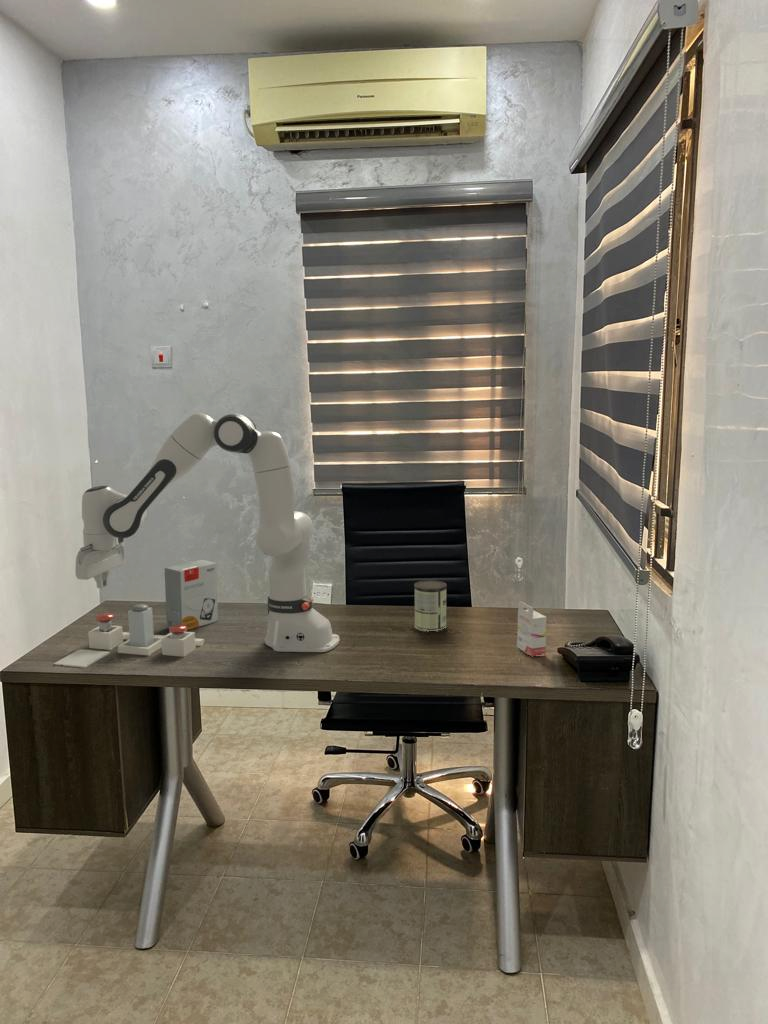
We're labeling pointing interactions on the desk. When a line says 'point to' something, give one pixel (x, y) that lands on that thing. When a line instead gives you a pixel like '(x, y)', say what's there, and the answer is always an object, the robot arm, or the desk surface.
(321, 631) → the robot arm
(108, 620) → the plunger
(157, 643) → the socket
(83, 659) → the pad
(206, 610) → the hard drive box
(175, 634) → the plunger
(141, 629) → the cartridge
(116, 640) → the tower
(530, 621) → the ink cartridge box
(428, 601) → the coffee can
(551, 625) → the desk surface
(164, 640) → the tower
